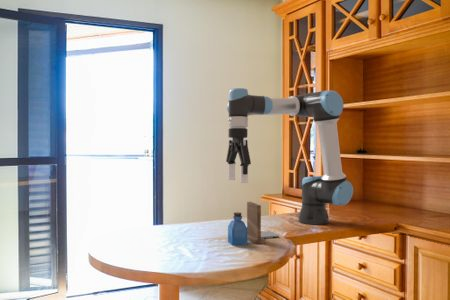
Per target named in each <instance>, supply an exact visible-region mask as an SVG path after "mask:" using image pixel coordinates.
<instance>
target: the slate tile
mask: <svg viewBox="0 0 450 300" xmlns="http://www.w3.org/2000/svg"><path fill="white" fill-rule="evenodd" d="M261 237H262V238H266V239H274V238H273V237H278V238H280V235H279V234H277V233H275V232H272V231H271V230H265V231H261Z"/></svg>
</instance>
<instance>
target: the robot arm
mask: <svg viewBox="0 0 450 300" xmlns="http://www.w3.org/2000/svg"><path fill="white" fill-rule="evenodd" d="M226 106H227V107H226V110H227V113H228V119H227V122H228V138H230V139H229V140H228V149H227V153H226V160H225V162H226V163H227V170H228V172H227V174H228V178H227V180H228V181H234V180H236V159H237V155H238V157H239V160H240V165H239V166H240V184H248V183H249V166H250V165H251V164H252V163H251V162H252V161H251V158H250V151H249V147H248V145H249V144H248V139H246V138H248V125H249V124H248V123H249V122H248V121H249V116H270V115H275V116H276V115H289V116H290V117H305V118H313V122H314V123H315V124H316V126H317V131H318V139H319V144H320V145H319V146H320V153H321V154H320V155H321V163H322V171H323V175H319V176H318V175H317V176H305V177H303V178H302V181H301V208H300V211H299V215H298V218H297V220H298V222H299V223H301V224H306V225H327V224H329V223H330V218H329V214H328V211H327V207H326V204H329V205H334V206H345V205H347V204H348V203H349V202H351V199H352V197H353V194H354V187H353V184H352V183H351V182H350V181H348V180H347V175H346V174H345V173H344V172H343V167H342V159H341V158H342V157H341V149H340V142H339V131H338V125H337V124H338V121H339V120H340V115H341V114H342V113H343V109H344V101H343V97H342V96H341V95H340V94H339V92H337V91H335V90H322V91H321V90H320V91H316V92H309V93H303V94H300V95H299V94H298V95H291V96H288V97H285V98H284V97H283V98H282V97H281V98H279V97H278V98H277V97H275V98H273V97H272V98H271V97H269V96H265V95H253V94H249V91H248V89H247V88H244V87H243V88H241V87H237V88H231V89H230V90H229V91H228V103H227V105H226Z"/></svg>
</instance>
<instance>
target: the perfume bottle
mask: <svg viewBox="0 0 450 300" xmlns="http://www.w3.org/2000/svg"><path fill="white" fill-rule="evenodd" d="M242 219H243V215H242V212H239V211H238V212H237V211H236V212H233V220H231V221H230V222H229V224H228V226H227V242H228V243H229V244H230V245H231V246H233V247H234V246H245V245H248V240H247V224H245V221H243V220H242Z"/></svg>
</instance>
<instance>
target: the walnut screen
mask: <svg viewBox="0 0 450 300" xmlns="http://www.w3.org/2000/svg"><path fill="white" fill-rule="evenodd" d="M261 223H262V205H261V204H258V203H255V202H252V201H247V202H246V227H247V242H250V243H252V244H254V245H260V244H259V243H261V244H266V239H267V238H266V239H264V238H262V237H261V232H262V224H261Z"/></svg>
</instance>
